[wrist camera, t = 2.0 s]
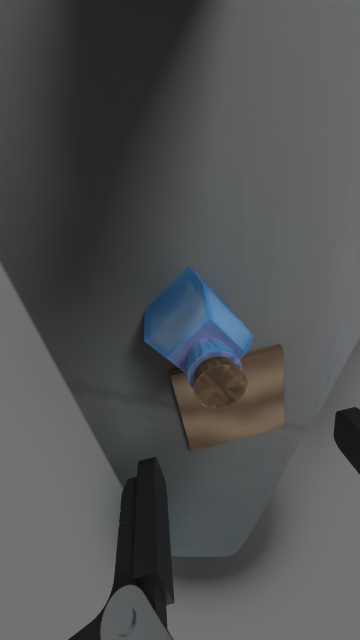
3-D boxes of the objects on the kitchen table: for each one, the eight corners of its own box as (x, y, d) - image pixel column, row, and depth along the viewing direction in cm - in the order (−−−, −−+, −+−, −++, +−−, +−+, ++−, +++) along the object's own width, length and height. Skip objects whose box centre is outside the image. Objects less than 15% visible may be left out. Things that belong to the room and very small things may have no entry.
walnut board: (169, 371, 28) (170, 375, 27) (279, 344, 28) (283, 348, 27) (190, 446, 33) (191, 451, 33) (281, 422, 34) (284, 427, 33)
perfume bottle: (229, 306, 25) (292, 381, 14) (187, 345, 27) (215, 441, 16) (189, 265, 23) (227, 317, 12) (144, 310, 24) (143, 393, 13)
